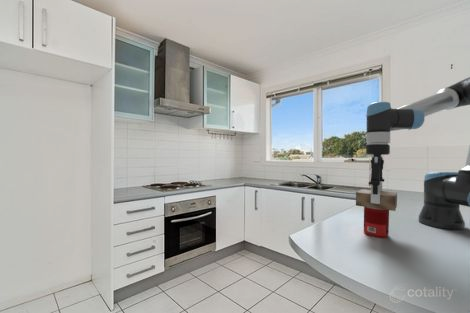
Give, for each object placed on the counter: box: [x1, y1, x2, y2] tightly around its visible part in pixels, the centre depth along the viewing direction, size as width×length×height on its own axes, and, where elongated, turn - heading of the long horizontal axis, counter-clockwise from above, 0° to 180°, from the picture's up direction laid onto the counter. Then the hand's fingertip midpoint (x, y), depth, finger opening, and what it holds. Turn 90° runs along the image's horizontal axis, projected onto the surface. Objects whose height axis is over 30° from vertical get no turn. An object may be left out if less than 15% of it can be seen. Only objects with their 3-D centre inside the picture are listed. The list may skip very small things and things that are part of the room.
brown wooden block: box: [355, 188, 398, 212], centre depth 85 cm, size 12×11×5 cm
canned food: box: [363, 207, 390, 239], centre depth 85 cm, size 8×8×11 cm
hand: (376, 200), depth 85 cm, fingers open, 13 cm apart
